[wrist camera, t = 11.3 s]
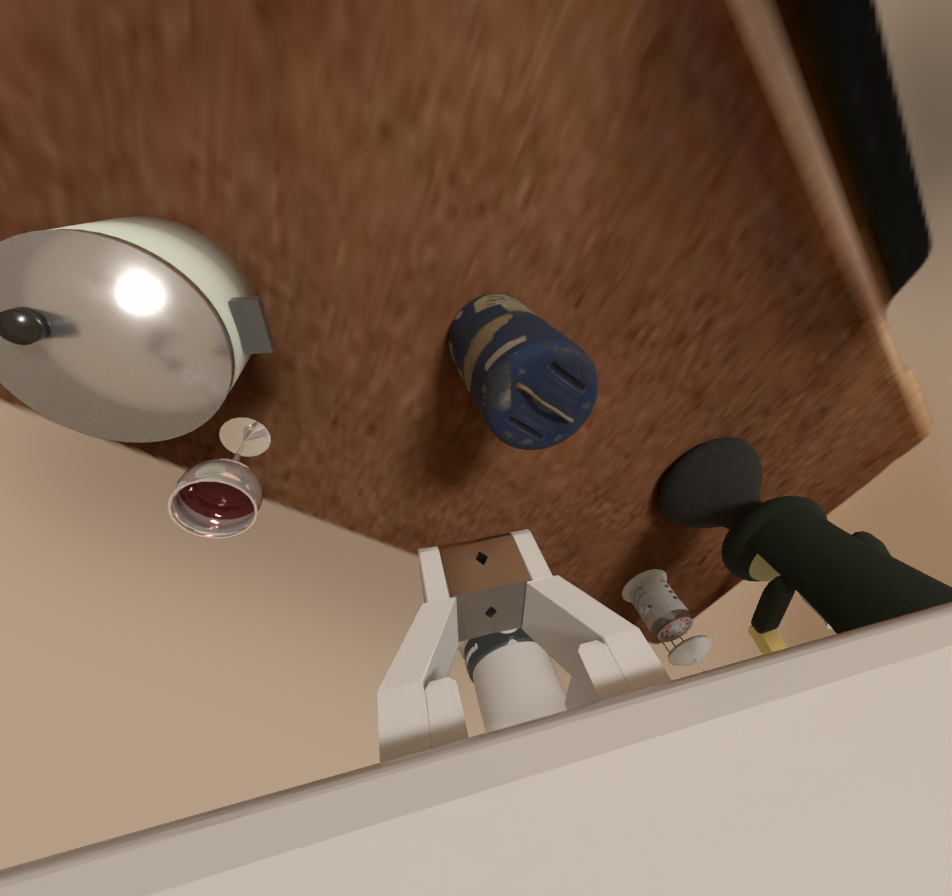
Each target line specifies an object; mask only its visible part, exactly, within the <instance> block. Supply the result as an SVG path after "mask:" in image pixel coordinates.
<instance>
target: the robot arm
mask: <svg viewBox="0 0 952 896" xmlns="http://www.w3.org/2000/svg"><path fill="white" fill-rule="evenodd" d="M418 554H419V563H420V571H421V580H422V588H423V596H424V604H421V605H420V607H419V609H418V611H417V613H416V615H415V618H414V619H413V621H412V623H411V625H410V628H409V629H408V632H407V634H406V636H405V638H404V640H403V642H402V644H401V646H400V648H399V650H398V652H397V654H396V656H395V658H394V660H393V662H392V664H391V666H390V668H389V670H388V672H387V674H386V676H385V678H384V680H383V682H382V684H381V686H380V688H379V690H378V692H377V694H378V722H379V750H380V763H378V764H375V765H371V766H367V767H364V768H360V769H357V770H353V771H350V772H346V773H342V774H339V775H335V776H332V777H328V778H325V779H321V780H318V781H314V782H310V783H307V784H303V785H300V786H297V787H293V788H289V789H286V790H282V791H279V792H275V793H272V794H268V795H265V796H261V797H257V798H254V799H250V800H247V801H243V802H240V803H236V804H233V805H229V806H225V807H222V808H218V809H215V810H212V811H208V812H204V813H201V814H197V815H193V816H190V817H186V818H183V819H179V820H176V821H172V822H169V823H165V824H162V825H158V826H155V827H151V828H147V829H144V830H140V831H137V832H134V833H130V834H126V835H123V836H120V837H115V838H112V839H109V840H105V841H102V842H98V843H95V844H91V845H87V846H84V847H80V848H77V849H73V850H70V851H66V852H63V853H59V854H55V855H52V856H48V857H45V858H41V859H38V860H34V861H31V862H27V863H23V864H20V865H17V866H13V867H9V868H6V869H2V870H0V896H952V602H949V603H946V604H942V605H939V606H935V607H932V608H928V609H924V610H921V611H917V612H914V613H910V614H907V615H903V616H900V617H896V618H892V619H889V620H885V621H882V622H878V623H875V624H871V625H868V626H864V627H860V628H857V629H853V630H850V631H846V632H843V633H839V634H836V635H833V636H829V637H825V638H822V639H818V640H815V641H811V642H808V643H804V644H800V645H797V646H793V647H790V648H786V649H782V650H779V651H775V652H772V653H768V654H765V655H761V656H758V657H754V658H751V659H747V660H744V661H740V662H736V663H733V664H729V665H726V666H722V667H719V668H715V669H712V670H708V671H704V672H701V673H698V674H694V675H690V676H687V677H683V678H680V679H676V680H673V681H672V680H671V679H670V677H669V676H668V674H667V672H666V671H665V669H664V668H663V666H662V664H661V663H660V661H659V660H658V658H657V657H656V655H655V653H654V652H653V650H652V649H651V647H650V645H649V644H648V642H647V641H646V639H645V637H644V636H643V634H642V633H641V631H640V629H639V628H637V627H636V626H634V625H633V624H631V623H630V622H628V621H627V620H625V619H624V618H622V617H621V616H619V615H618V614H616V613H615V612H613V611H612V610H610V609H609V608H607V607H606V606H604V605H603V604H601V603H599V602H598V601H596V600H595V599H593V598H592V597H590V596H589V595H587V594H586V593H584V592H583V591H581V590H580V589H578V588H577V587H575V586H574V585H572V584H571V583H569V582H568V581H566V580H564V579H563V578H561V577H560V576H558V575H557V576H552V574H551V572H550V570H549V568H548V566H547V564H546V562H545V560H544V558H543V556H542V554H541V552H540V550H539V548H538V546H537V544H536V542H535V540H534V538H533V536H532V534H531V532H530V531H529V530H528V529H527V530H522V531H517V532H511V533H505V534H500V535H495V536H490V537H485V538H480V539H475V540H471V541H465V542H459V543H452V544H446V545H440V546H438V547H437V546H435V547H429V548H423V549H418ZM457 648H459V650H460V653H461V655H462V656H463V658H464V660H465V664H466V668H467V671H468V674H469V676H470V679H471V680H472V682H473V683H474V685H475V689H476V693H477V697H478V702H479V706H480V710H481V715H482V719H483V723H484V728H485V732H486V733H484V734H481V735H477V736H474V737H470V738H468V733H467V728H466V724H465V719H464V714H463V709H462V704H461V700H460V695H459V690H458V685H457V681H455V680H453V679H452V678H450V677H448V675H449V672H450V669H451V666H452V663H453V660H454V657H455V654H456V651H457ZM550 656H551V657H552V658H553V659H554V660H555V661H556V662H557V663H558V664H559V665H560V666H562V667H563V668H564V669H565V670H566V671H567V672H568V673H569V674H570V675H571V680H570V685H569V688H568V692H567V693H566V691H565V689H564V687H563V685H562V683H561V681H560V678H559V677H558V674H557V672H556V670H555V667H554V665H553V663H552V660H551V658H550Z"/></svg>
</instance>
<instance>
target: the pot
mask: <svg viewBox="0 0 952 896" xmlns="http://www.w3.org/2000/svg"><path fill="white" fill-rule="evenodd" d="M55 229H80V230H87V231H93V232H99V233H103V234H107V235H111V236H114V237H118V238H121V239H123V240H126V241H129V242H131V243H134V244H136V245H138V246H141V247H143V248H145V249H147V250H149V251H151V252H153V253H154V254H156V255H158V256H159V257H161V258H163V259H164V260H166V261H167V262H169V263H170V264H172V265H173V266H174V267H176V268H177V269H178V270H180V271H181V272H182V273H184V274H185V275H186V276H187V277H188V278H189V279H190V280H191V281H193V282H194V283H195V284H196V285H197V286H198V287H199V288H200V289H201V291H202V292H203V293H204V294H205V295H206V296H207V297H208V299H209V300H210V301H211V303H212V304H213V306H214V307H215V308H216V310H217V311H218V313H219V315H220V316H221V318H222V320H223V322H224V324H225V326H226V328H227V331H228V333H229V336H230V339H231V342H232V346H233V350H234V360H235V368H234V377H233V382H232V386H231V388H230V391H231V389H232V387H233V385H234V384H235V382H236V380H237V379H238V377H239V375H240V374H241V372H242V370H243V369H244V367H245V365H246V364H247V362H248V360H249V359H250V357H251V355H252V354H259V353H271V352H273V351H274V349H275V345H274V341H273V338H272V334H271V331H270V327H269V324H268V320H267V317H266V313H265V310H264V306H263V303H262V299H261V296H257V294H256V291H255V289H254V287H253V285H252V283H251V281H250V279H249V278H248V276H247V275H246V273H245V272H244V270H243V269H242V268H241V266H240V265H239V264H238V263H237V261H236V260H235V259H234V258H233V257H232V256H231V255H230V254H229V253H228V252H227V251H226V250H224V249H223V248H222V247H221V246H220V245H218V244H217V243H216V242H215V241H213V240H212V239H210V238H209V237H207V236H206V235H204V234H202V233H200V232H198V231H197V230H195V229H193V228H191V227H188V226H186V225H183V224H181V223H179V222H175V221H172V220H168V219H165V218H159V217H153V216H128V217H121V218H115V219H109V220H103V221H97V222H91V223H85V224H79V225H73V226H67V227H61V228H55ZM49 230H54V229H49ZM230 391H229V392H230ZM228 394H229V393H228Z"/></svg>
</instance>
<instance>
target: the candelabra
mask: <svg viewBox="0 0 952 896" xmlns="http://www.w3.org/2000/svg"><path fill="white" fill-rule="evenodd" d="M761 483H762V466H761V463H760V459H759V456H758V454H757V452H756V451H755V450H754V448H753V447H752V446H751V445H750V444H749V443H748V442H746V441H744V440H742V439H738V438H721V439H714V440H712V441H709V442H706V443H703V444H700V445H699V446H697V447H696V448H694V449H692V450H691V451H689V452H687V453H686V454H685V455H684V456H683V457H682V458H681V459H679V460H678V461H677V462H676V463H675V464H674V465H673V466H672V468H671V469H670V471H669V472H668V473H667V474H666V476H665V478H664V481H663V483H662V485H661V487H660V496H659V506H660V509H661V511H662V513H663V514H664V515H665V516H666V517H667V518H668V519H670V520H671V521H673V522H675V523H676V524H679V525H683V526H687V527H692V528H711V527H725V528H727V529H729V532H728V533H727V535H726V537H725V539H724V542H723V545H722V559H723V562H724V564H725V566H726V567H727V569H728V570H729V571H730V572H731V573H732V574H734V575H735V576H737V577H739V578H741V579H744V580H748V581H771V582H769V583H768V585H767V586H766V588H765V589H764V591H763V593H762V595H761V598H760V600H759V602H758V605H757V608H756V610H755V613H754V615H753V618H752V620H751V624H752V626H750V627H749V630H748V631H749V634H750V635H751V636H752V638H753V639H754V641H755V642H756V644H757V646H758V648H759V649H760V651H761V652H762V654H763V655H765V654H768V653H772V652H775V651H779V650H782V649H786V648H787V646H786V645H785V643H784V641H783V640H782V638H781V637H780V635H779V634H778V632H777V630H776V628H777V627H778V626H779V624H780V622H781V620H782V618H783V616H784V614H785V612H786V610H787V608H788V605H789V603H790V601H791V599H792V597H793V595H794V593H795V590H797V591H798V592H799V593H800V594H801V596H802V597H803V598H804V599H805V600H806V601H807V602H808V603H809V604H810V605H811V606H812V607H813V608H814V609H815V610H816V611H817V612H818V613H819V615H820V616H821V617H822V618H823V619H824V620H825V621H826V622H827V623H828V624H829V625H830V626H831V628H832V629H833V630H834V631H835V632H836V633H837V634H839V633H843V632H846V631H850V630H853V629H857V628H860V627H864V626H868V625H871V624H875V623H878V622H882V621H885V620H889V619H892V618H896V617H900V616H903V615H907V614H910V613H914V612H917V611H921V610H924V609H928V608H932V607H935V606H939V605H942V604H946V603H949V602H952V587H950V586H948V585H946V584H944V583H942V582H940V581H938V580H936V579H934V578H932V577H930V576H928V575H926V574H924V573H922V572H921V571H919V570H916V569H915V568H913V567H911V566H909V565H907V564H905V563H903V562H901V561H899V560H897V559H895V558H893V557H892V556H891V555H890V553H889V552H888V550H887V548H886V547H885V545H884V544H883V543H882V542H881V541H880V540H878V539H877V538H875V537H874V536H873V535H871V534H870V533H867V532H863V531H861V532H855V533H854V534H852V535H851V534H849V533H847V532H845V531H844V530H842V529H840V528H839V527H837V526H835V525H834V524H832V523H831V522H829V521H828V520H827V517H826V514H825V512H824V511H823V509H822V508H821V507H820V506H819V505H818V504H816V503H815V502H814V501H812V500H809V499H807V498H804V497H799V496H783V497H778V498H774V499H771V500H768V501H766V502H764V503H762V501H761V499H760V498H759V497H760V488H761Z"/></svg>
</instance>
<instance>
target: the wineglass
mask: <svg viewBox="0 0 952 896" xmlns="http://www.w3.org/2000/svg"><path fill="white" fill-rule="evenodd" d="M219 436H220V440H221V442H222V444H223V446H224V447H226V448H227V449H228V450H229V451H231V452H233V453H235V455H234V457H233V459H232V460H229V459H211V460H206V461H203V462H201V463H199V464H197V465H195V466H193V467H191V468H190V469H188V470H187V471H186V472H185V474H183V476H182V477H181V478H180V479H179V481H178V482H177V486H176V490H175V491H174V492H173V493H172V495H171V496H170V498H169V502H168V510H169V514H170V517H171V518H172V519H173V521H174V522H175V523H176V524H177V525H178V526H179V527H181V528H182V529H184V530H185V531H186V532H189V533H191V534H194V535H197V536H199V537H205V538H211V539H223V538H230V537H234V536H237V535H240V534H242V533H243V532H245V531H247V530H248V529H249V528H250V527H251V526H252V525H253V524H254V523H255V521H256V518H257V515H258V513H257V512H258V510H259V509H260V506H261V503H262V501H263V490H262V484H261V482H260V480H259V478H258V476H257V475H256V473H255V472H254V471H252V470H251V469H250V468H249V467H248V466H246V465H244V464H242V463H240V462H239V460H240V457H241V456H256V455H259V454H261V453H263V452H265V451H266V449H267V448H268V447H269V445H270V442H271V439H270V434H269V432H268V430H267V429H266V428H265V427H264V426H263V425H262V424H261V423H259V422H257V421H256V420H253V419H249V418H234V419H231V420H229V421H227V422H225V423H224V424H223V426H222V427H221V429H220V432H219Z"/></svg>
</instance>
